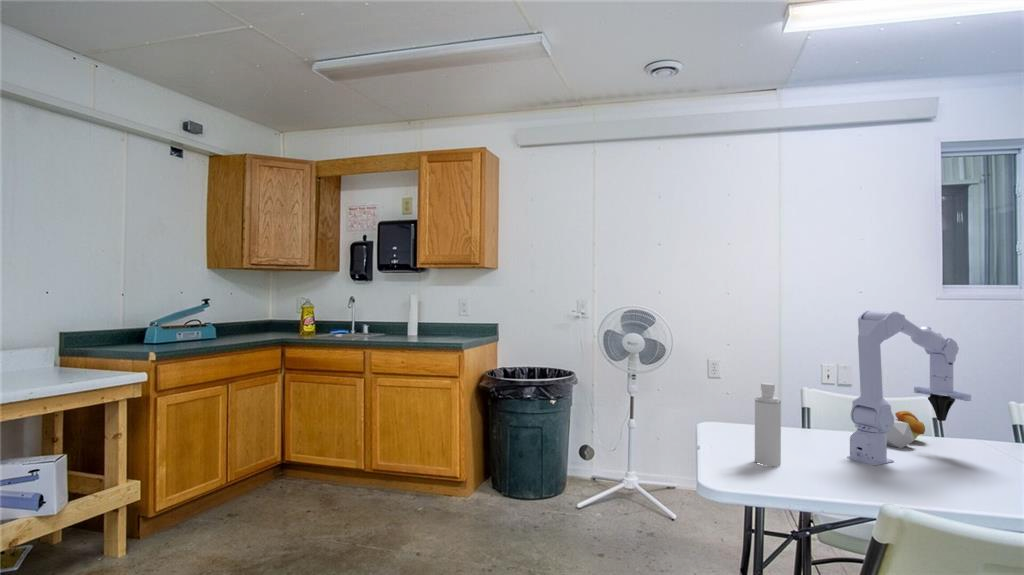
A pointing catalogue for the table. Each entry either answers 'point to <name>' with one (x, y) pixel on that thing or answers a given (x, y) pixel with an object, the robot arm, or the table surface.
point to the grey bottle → (768, 427)
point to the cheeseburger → (911, 422)
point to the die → (900, 435)
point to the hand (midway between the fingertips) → (941, 420)
